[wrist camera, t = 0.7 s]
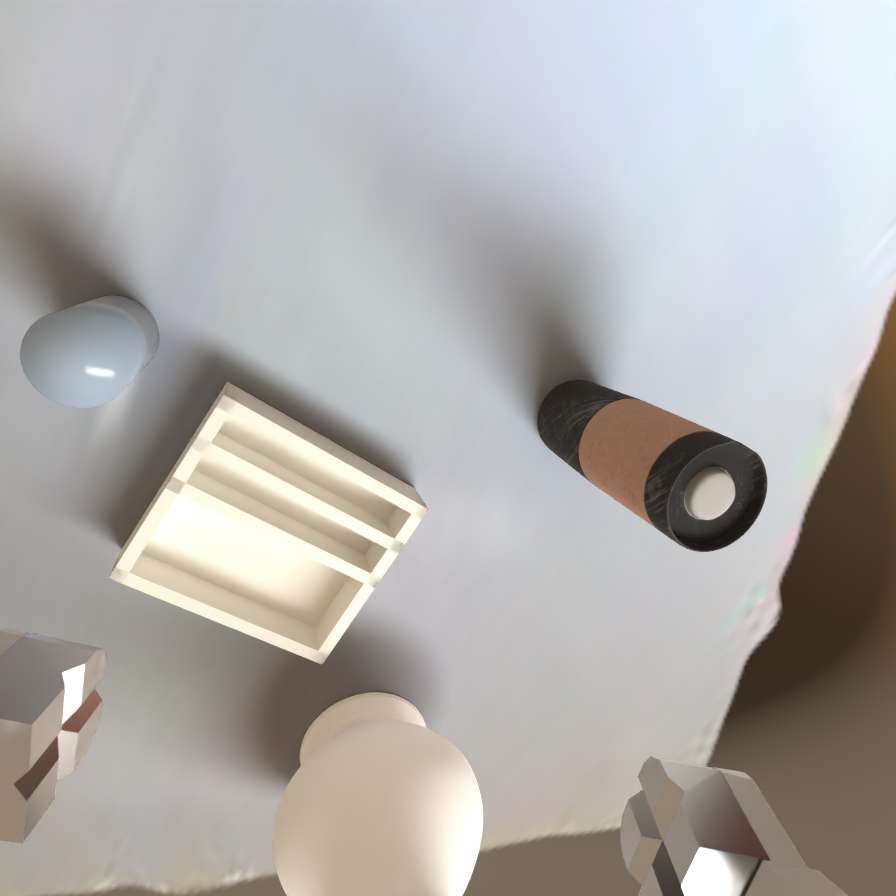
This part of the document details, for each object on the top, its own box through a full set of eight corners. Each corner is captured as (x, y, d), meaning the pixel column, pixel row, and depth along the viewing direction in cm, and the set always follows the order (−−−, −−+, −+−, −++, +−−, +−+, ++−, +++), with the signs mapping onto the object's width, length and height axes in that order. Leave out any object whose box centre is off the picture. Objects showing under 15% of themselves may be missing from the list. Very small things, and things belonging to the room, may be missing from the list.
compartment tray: (227, 381, 48) (223, 394, 44) (415, 488, 55) (428, 509, 51) (121, 549, 50) (108, 578, 46) (317, 632, 57) (322, 664, 53)
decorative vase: (234, 787, 60) (217, 1127, 37) (340, 641, 58) (392, 900, 35) (385, 837, 67) (451, 1148, 44) (484, 707, 65) (606, 959, 42)
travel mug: (545, 469, 58) (675, 572, 40) (524, 394, 56) (655, 469, 37) (617, 439, 60) (775, 526, 41) (601, 364, 57) (763, 421, 38)
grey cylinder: (98, 279, 44) (50, 290, 34) (173, 323, 46) (149, 346, 36) (59, 345, 45) (0, 375, 34) (135, 386, 47) (101, 425, 37)
